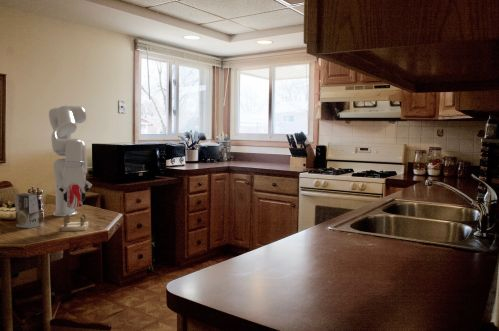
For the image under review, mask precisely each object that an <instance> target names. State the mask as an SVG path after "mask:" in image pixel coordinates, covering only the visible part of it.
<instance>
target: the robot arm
mask: <svg viewBox="0 0 499 331" xmlns="http://www.w3.org/2000/svg"><path fill="white" fill-rule="evenodd" d="M48 119H49V123H50V126H51V127H52V130H53V132H52V134H51V137H50V138H51V141H50V142H51V148H52V151H53V152H54V153H55V154H56V155H57V156H58V157H65V158H59V159H55V160H54V161H53V164H52V165H53V173H54V179H55V211H54V212H53V213H52V214H53V216H54V217H66V215H68V214H69V215H70V217H71V216H76V215H78V211H77V210H75V209H71V208H69V207H67V188H68V186H69V185H70V184H78V186H79V187H80V188H81V190H82V201H83V202H85V200H86V198H87V197H86V193H87V192H88V191H89V190H90V188H92V186H93V184H92V183H91V182H90V181H88V180H87V179H86V177H87V176H86V174H87V173H88V160H87V159H88V158H87V148H86V142H85V141H84V140H82V139H80V138H72V134H73V133H74V134H75V132H76V130H77V126H78V125H77V124H82V123H84V122H85V121H86V119H87V111H86V110H85V108H84V107H83V106H78V105H77V106H75V105H61V106H60V107H53V108H51V109H50V110H49V112H48ZM86 186H87V187H86ZM85 187H86V188H85Z"/></svg>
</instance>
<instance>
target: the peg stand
mask: <svg viewBox="0 0 499 331" xmlns="http://www.w3.org/2000/svg"><path fill="white" fill-rule="evenodd" d="M79 219H80V221H71V216H70V215H69V214H68V215H66V216H65V217H63V224H62V225H61V227H60V231H61V232H77V231H87V229H88V227H89V220H88V221H87V213H82V216H81V217H80V218H79Z"/></svg>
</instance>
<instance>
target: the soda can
mask: <svg viewBox="0 0 499 331" xmlns="http://www.w3.org/2000/svg"><path fill="white" fill-rule="evenodd" d="M83 202H84V201H82V190H81V188H80V187H79V186H78V184H70V185H69V186H68V188H67V207H69V208H71V209H74V210H75V209H80V208H82V207H83Z"/></svg>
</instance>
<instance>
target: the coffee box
mask: <svg viewBox="0 0 499 331" xmlns="http://www.w3.org/2000/svg"><path fill="white" fill-rule="evenodd" d="M39 195H40V194H39V193H28V192H22V193H19V194H15V195H14V204H15V206H14V207H15V227H16V228H24V229H32V228H36V227H40V200H39V199H40V197H39Z"/></svg>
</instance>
